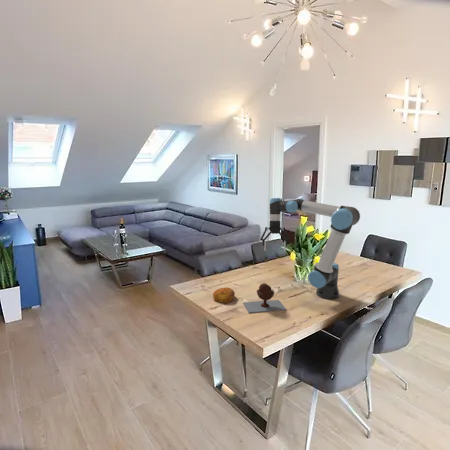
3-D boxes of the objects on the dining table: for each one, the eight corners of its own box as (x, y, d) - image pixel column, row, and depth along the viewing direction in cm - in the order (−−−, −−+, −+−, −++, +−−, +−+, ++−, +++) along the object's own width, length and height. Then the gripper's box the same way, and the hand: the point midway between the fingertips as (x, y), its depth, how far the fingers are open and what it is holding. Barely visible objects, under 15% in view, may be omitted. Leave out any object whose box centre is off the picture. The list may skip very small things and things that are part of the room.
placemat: (278, 300, 220) (278, 299, 220) (286, 310, 207) (286, 309, 207) (243, 303, 216) (243, 302, 216) (248, 313, 202) (248, 312, 202)
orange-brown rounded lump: (236, 298, 229) (237, 286, 228) (231, 305, 213) (232, 292, 213) (216, 295, 232) (216, 284, 231) (209, 301, 217) (210, 289, 216)
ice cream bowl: (273, 310, 205) (274, 287, 202) (255, 308, 207) (255, 285, 204) (274, 303, 215) (275, 280, 212) (257, 301, 217) (257, 279, 214)
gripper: (293, 220, 234) (292, 250, 236) (257, 219, 238) (257, 249, 240) (293, 220, 227) (293, 251, 228) (256, 220, 231) (256, 251, 232)
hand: (274, 250), depth 234 cm, fingers open, 13 cm apart
